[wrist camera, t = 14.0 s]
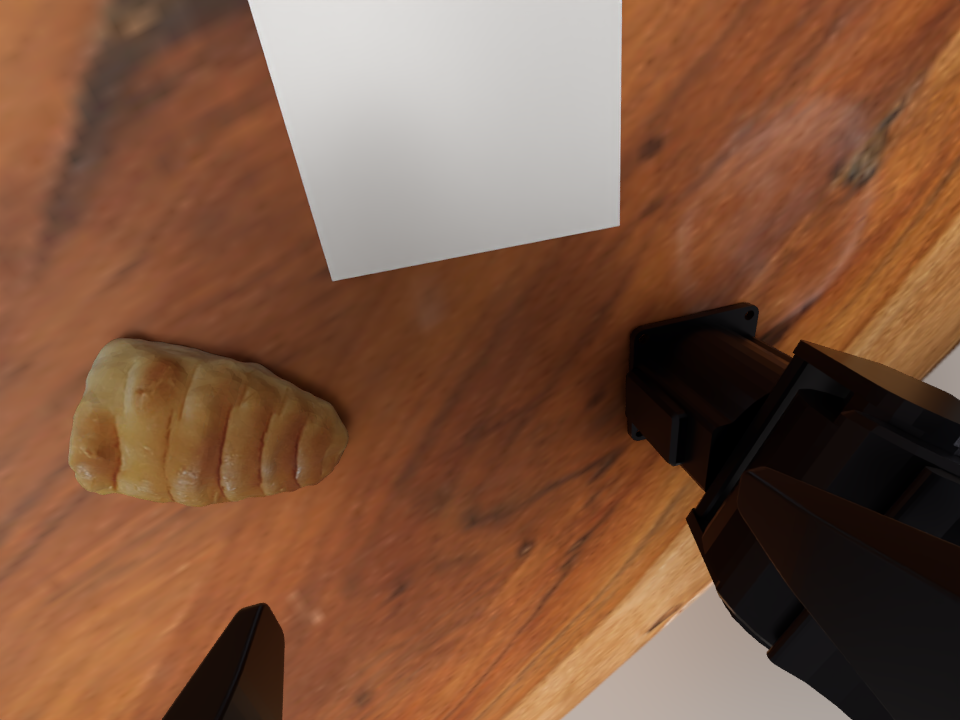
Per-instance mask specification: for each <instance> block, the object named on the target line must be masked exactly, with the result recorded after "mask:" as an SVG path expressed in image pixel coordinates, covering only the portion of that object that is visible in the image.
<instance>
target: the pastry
mask: <svg viewBox="0 0 960 720" xmlns="http://www.w3.org/2000/svg"><path fill="white" fill-rule="evenodd" d="M73 419H74V421H73V428H72V432H71V437H70V448H69V459H68V460H69V465H70V467H71V468H72V469H73V471H74V472H75V477H76V479H77V481H78V482H79V484H80V485H81V486H82V487H83V488H84V489H86V490H88V491H90V492H96V493H98V494H102V495H106V494H110V493H119V494H124V495H128V496H132V497H136V498H140V499H145V500H150V501H154V502H160V503H165V502H178V503H181V504H184V505H187V506H194V507H202V506H207V505H210V504H216V503H223V502H234V501H239V500H243V499H245V498H247V497H265V496H267V495H274V494H277V493H281V492H291V491H295V490H297V489H299V488H302V487H305V486H308V485H316V484H318V483H319V482H320V481H321V480H322V479H324V478H325V477H326V476H327V475H328V474H330V473H331V472H332V470H333V469H334V467H335V466H336V465H337V464H338V462H339V460H340V458H341V456H342V454H343V452H344V449H345V448H346V446H347V443H348V437H349V436H348V431H347V429H346V428H345V426H344V424H343V423H342V421H341V420H340V418H339V416H338V414H337V413H336V411H335V409H334V408H333V406H332V405H331V404H330V403H329V402H327V401H325V400H323V399H321V398H318V397H315V396H314V395H312V394H311V393H309V392H306V391H303V390H301V389H300V388H298V387H296V386H295V385H294V384H292V383H291V382H288V381H286V380H284V379H281V378H279V377H277V376H276V375H275V374H273V373H272V372H271V371H270V370H268V369H267V368H265V367H264V366H262V365H261V364H258V363H252V362H251V363H246V362H239V361H236V360H234V359H231V358H227V357H222V356H218V355H214V354H211V353H207V352H204V351H201V350H199V349H196V348H189V347H185V346H180V345H173V344H168V343H164V342H151V341H146V340H142V339H131V338H118V339H114V340H112V341H110V342H109V343H108V344H107V345H105V346H104V347H103V349H102V350H101V351H100V353H99V354H98V356H97V358H96V360H95V361H94V363H93V365H92V369H91V370H90V372H89V374H88V377H87V379H86V389H85V392H84V394H83V398H82V400H81V402H80V404H79V405H78V407H77V410H76V412H75V415H74V417H73Z"/></svg>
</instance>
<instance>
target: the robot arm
mask: <svg viewBox="0 0 960 720" xmlns="http://www.w3.org/2000/svg"><path fill="white" fill-rule="evenodd" d="M747 312H748V313H747ZM746 313H747V315H746V316H745V314H746ZM758 314H759V309H758V308H757V307H756V306H754V305H752V304H750V303H742V304H738V305H733V306H729V307H724V308H720V309H716V310H711V311H707V312H702V313H698V314H693V315H689V316H684V317H680V318H675V319H671V320H666V321H662V322H658V323H653V324H649V325H644V326H640V327H637V328H636V329H634V330H633V331H632V333H631V335H630V354H629V371H628V373H627V375H626V411H625V414H626V417H627V418H628V434H629V435H630V436H631V437H632V438H633V439H634V440H636V441H640V440H644V439H647V440H648V441H649V442H650V444H651V445H652V446H653V447H654V448H655V449H656V450H657V451H658V453H659V454H660V455H661V456H662V457H663V458H664V459H665V460H666V462H667V463H669V464H670V465H672V466H677V465H681V466H682V467H683V469H684V470H685V471H686V472H687V473H688V474H689V475H690V476H691V477H692V478H693V479H694V481H695V482H696V483H697V484H698V485H699V486H700V487H701V488H702V489H703V490H704V491H705V492H706V493H705V494H704V496H703V497H702V499H701V500H700V502H699V504H698V505H697V507H696V508H693V509H692V510H691V511H690V513H689V515H688V516H687V518H686V521H687V523H688V525H689V527H690V530H691V532H692V534H693V537H694V539H695V541H696V543H697V546H698V548H699V550H700V552H701V555H702V557H703V559H704V562H705V564H706V566H707V568H708V571H709V573H710V575H711V578H712V580H713V582H714V584H715V587H716V590H717V593H718V595H719V597H720V598H721V599H722V601H723V603H724V605H725V607H726V608H727V609H728V611H729V612H730V614H731V616H732V617H733V618H734V619H735V620H736V621H737V622H738V623H739V624H740V625H741V626H742V627H743V628H744V629H745V630H746V631H747V632H748V633H749V634H750V635H751V636H752V637H753V638H755V639H756V640H757V641H758V642H759V643H761V644H762V645H763V646H765V647H766V648H768V649H769V650H768V652H767V657H768V658H769V659H770V661H771V662H772V663H774V664H775V665H777V666H778V667H780V668H782V669H783V670H785V671H787V672H789V673H790V674H792V675H794V676H796V677H797V678H799V679H800V680H802V681H804V682H806V683H807V684H808V685H810V686H811V687H812V688H814V689H815V690H816V691H817V692H819V693H820V694H822V695H823V696H824V697H826V698H827V699H828V700H830V701H831V702H832V703H833V704H835V705H836V706H837V707H838V708H839V709H841V710H842V711H843V712H844V713H845V714H846V715H847V716H848V717H850V718H851V719H852V720H960V400H959V399H957V398H956V397H954V396H953V395H951V394H949V393H947V392H945V391H942V390H941V389H938V388H936V387H934V386H931V385H929V384H927V383H925V382H922V381H920V380H918V379H915V378H913V377H911V376H909V375H906V374H904V373H902V372H899V371H897V370H895V369H892V368H890V367H888V366H885V365H883V364H880V363H877V362H873V361H870V360H867V359H864V358H860V357H857V356H854V355H850V354H847V353H844V352H841V351H837V350H834V349H831V348H827V347H824V346H821V345H818V344H814V343H811V342H808V341H804V340H800V342H799V343H798V345H797V347H796V348H795V350H794V351H793V353H794V354H795V355H794V357H793V358H792V357H790V356H788V355H787V354H785V353H783V352H781V351H779V350H777V349H776V348H774V347H772V346H770V345H768V344H767V343H765V342H763V341H761V340H759V339H757V338H756V337H755V332H756V326H757V320H758ZM644 334H645V335H644ZM642 335H644V338H643V339H642V340H640V341H639V338H640V337H641V336H642ZM638 430H639V431H638ZM637 431H638V432H637ZM284 648H285V642H284V634H283V631H282V628H281V627H280V625H279V623H278V621H277V619H276V618H275V616H274V614H273V612H272V611H271V609H270V607H269V606H268V605H267V604H266V603H259V604H255V605H252V606H248V607H245V608H242V609H241V610H239V611H238V612H237V613H236V615H235V616H234V617H233V619H232V620H231V622H230V623H229V624H228V626H227V627H226V629H225V630H224V632H223V633H222V634H221V636H220V637H219V639H218V640H217V641H216V643H215V644H214V646H213V647H212V649H211V650H210V651H209V653H208V654H207V656H206V657H205V659H204V660H203V661H202V663H201V664H200V666H199V667H198V669H197V670H196V671H195V673H194V674H193V676H192V677H191V679H190V680H189V681H188V683H187V684H186V686H185V687H184V688H183V690H182V691H181V693H180V694H179V696H178V697H177V698H176V700H175V701H174V703H173V704H172V706H171V707H170V708H169V710H168V711H167V713H166V714H165V716H164V717H163V718H162V720H282V710H283V679H284Z"/></svg>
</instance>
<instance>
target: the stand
mask: <svg viewBox="0 0 960 720" xmlns="http://www.w3.org/2000/svg"><path fill="white" fill-rule="evenodd" d="M248 2H249V5H250V8H251V12H252V15H253V18H254V22H255V25H256V28H257V32H258V35H259V38H260V42H261V45H262V48H263V52H264V55H265V58H266V62H267V65H268V68H269V72H270V75H271V78H272V82H273V85H274V88H275V92H276V95H277V98H278V102H279V105H280V108H281V112H282V115H283V118H284V122H285V125H286V128H287V132H288V135H289V138H290V142H291V145H292V148H293V152H294V155H295V158H296V162H297V165H298V168H299V172H300V175H301V178H302V182H303V185H304V188H305V192H306V195H307V198H308V202H309V205H310V208H311V212H312V215H313V218H314V222H315V225H316V228H317V232H318V235H319V238H320V242H321V245H322V248H323V252H324V255H325V258H326V261H327V265H328V268H329V271H330V275H331V278H332V281H337V280H342V279H347V278H352V277H357V276H363V275H368V274H373V273H378V272H383V271H388V270H394V269H399V268H404V267H409V266H414V265H419V264H425V263H430V262H435V261H440V260H445V259H450V258H456V257H461V256H466V255H471V254H476V253H481V252H486V251H492V250H497V249H502V248H507V247H512V246H517V245H523V244H528V243H533V242H538V241H543V240H548V239H554V238H559V237H564V236H569V235H574V234H579V233H585V232H590V231H595V230H600V229H605V228H610V227H615V226H620V135H621V37H622V0H248Z"/></svg>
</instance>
